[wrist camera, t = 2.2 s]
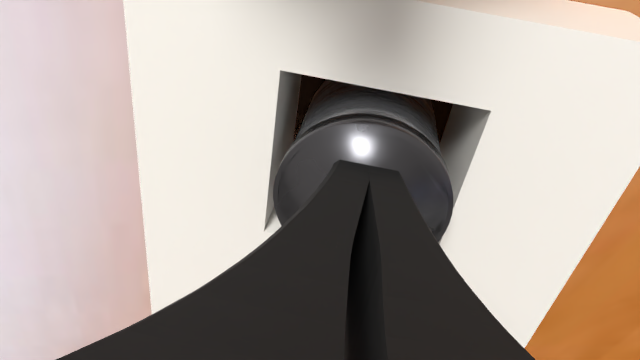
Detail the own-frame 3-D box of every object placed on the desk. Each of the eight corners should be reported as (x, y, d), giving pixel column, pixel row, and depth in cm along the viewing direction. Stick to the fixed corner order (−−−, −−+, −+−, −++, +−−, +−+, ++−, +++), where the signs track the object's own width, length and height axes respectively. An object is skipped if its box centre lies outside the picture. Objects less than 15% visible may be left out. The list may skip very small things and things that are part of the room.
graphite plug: (456, 74, 12) (479, 145, 9) (418, 193, 14) (424, 286, 11) (313, 47, 12) (281, 107, 9) (296, 168, 14) (266, 253, 11)
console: (626, 11, 11) (710, 54, 8) (438, 386, 20) (445, 472, 17) (189, -69, 11) (117, -54, 9) (194, 333, 20) (160, 408, 17)
